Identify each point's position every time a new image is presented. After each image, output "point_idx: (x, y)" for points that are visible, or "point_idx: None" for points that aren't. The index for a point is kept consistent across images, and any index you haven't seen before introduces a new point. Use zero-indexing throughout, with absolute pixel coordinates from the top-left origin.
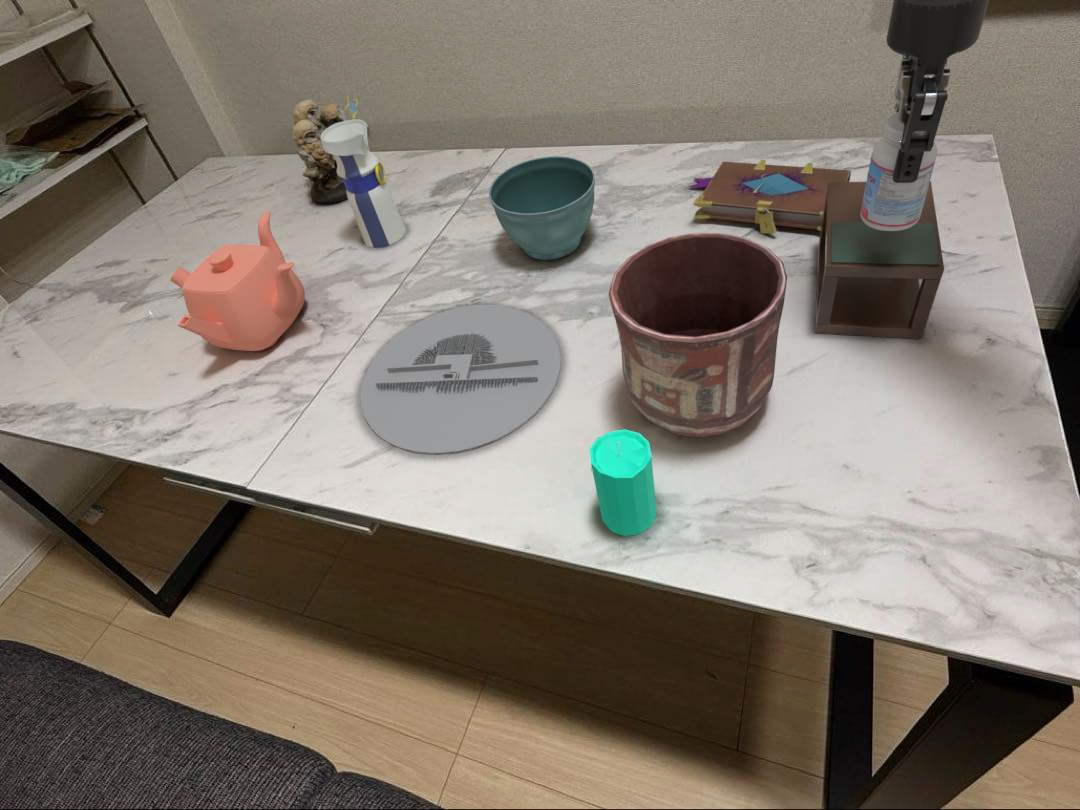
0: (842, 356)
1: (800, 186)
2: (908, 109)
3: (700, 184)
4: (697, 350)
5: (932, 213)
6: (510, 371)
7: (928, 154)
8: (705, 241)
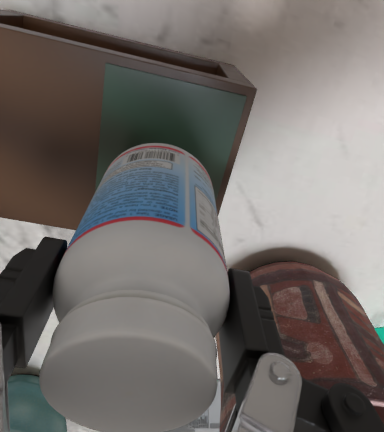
0: (246, 168)
1: None
2: (7, 367)
3: None
4: None
5: (64, 50)
6: (214, 405)
7: (212, 281)
8: None
